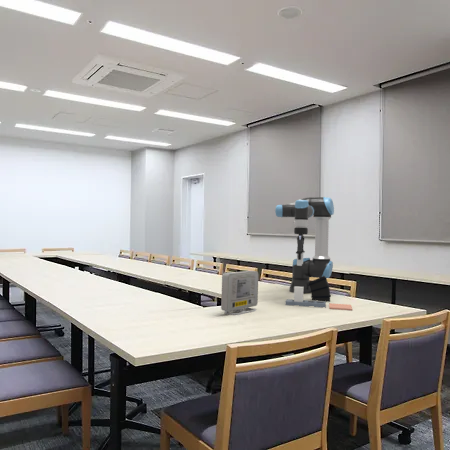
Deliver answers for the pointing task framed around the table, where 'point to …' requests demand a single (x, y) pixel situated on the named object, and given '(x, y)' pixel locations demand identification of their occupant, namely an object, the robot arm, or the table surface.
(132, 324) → the table surface
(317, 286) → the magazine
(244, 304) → the network device
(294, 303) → the power strip
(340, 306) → the mat
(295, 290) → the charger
